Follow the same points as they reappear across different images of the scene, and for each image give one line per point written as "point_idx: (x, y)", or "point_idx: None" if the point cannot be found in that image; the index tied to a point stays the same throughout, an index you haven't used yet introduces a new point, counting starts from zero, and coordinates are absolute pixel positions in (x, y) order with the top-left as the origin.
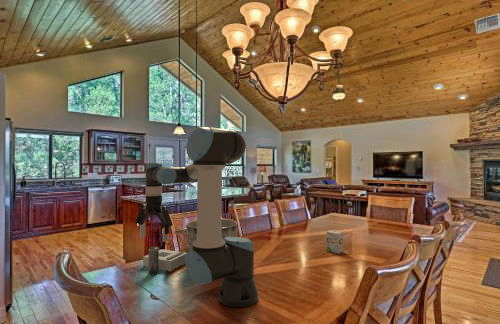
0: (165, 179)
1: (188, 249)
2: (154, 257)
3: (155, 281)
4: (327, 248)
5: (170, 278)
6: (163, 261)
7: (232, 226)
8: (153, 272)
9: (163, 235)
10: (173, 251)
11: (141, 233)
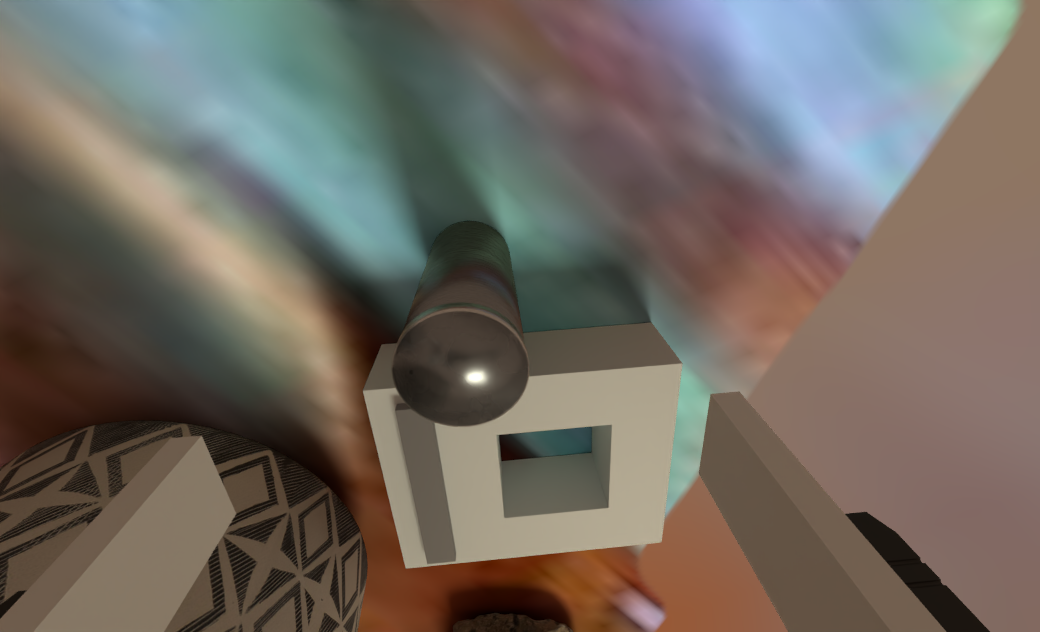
0: None
1: None
2: (418, 292)
3: (311, 134)
4: None
5: (261, 241)
6: None
7: None
8: (439, 238)
9: (87, 540)
10: (532, 546)
11: (757, 472)
